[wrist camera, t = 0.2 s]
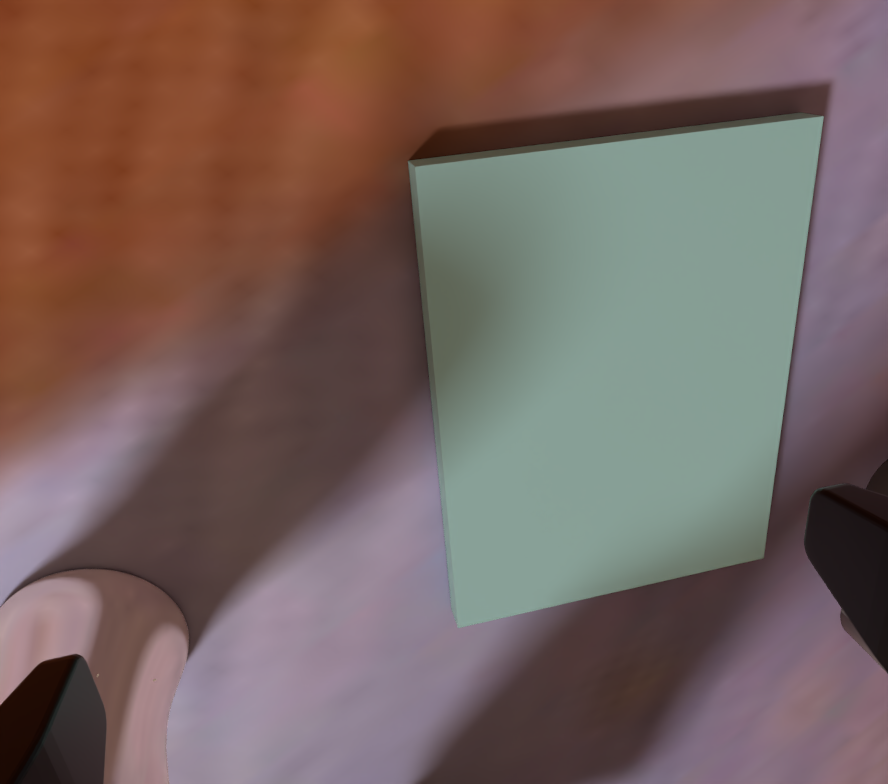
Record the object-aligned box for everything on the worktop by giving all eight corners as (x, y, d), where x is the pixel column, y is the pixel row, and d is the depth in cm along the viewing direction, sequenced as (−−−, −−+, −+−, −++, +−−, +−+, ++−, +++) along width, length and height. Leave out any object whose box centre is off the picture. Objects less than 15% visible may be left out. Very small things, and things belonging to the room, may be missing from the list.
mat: (748, 542, 30) (763, 558, 29) (451, 609, 28) (458, 627, 27) (801, 112, 23) (823, 116, 22) (408, 160, 21) (414, 166, 20)
